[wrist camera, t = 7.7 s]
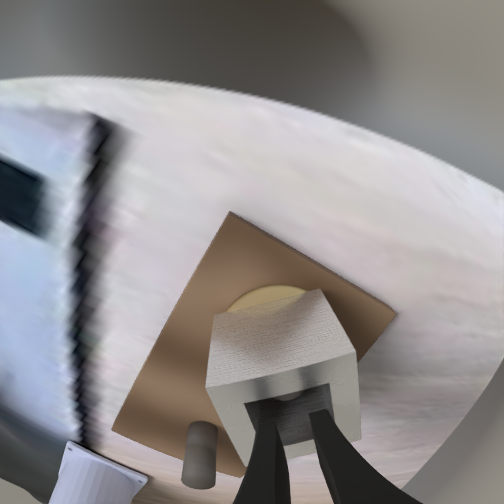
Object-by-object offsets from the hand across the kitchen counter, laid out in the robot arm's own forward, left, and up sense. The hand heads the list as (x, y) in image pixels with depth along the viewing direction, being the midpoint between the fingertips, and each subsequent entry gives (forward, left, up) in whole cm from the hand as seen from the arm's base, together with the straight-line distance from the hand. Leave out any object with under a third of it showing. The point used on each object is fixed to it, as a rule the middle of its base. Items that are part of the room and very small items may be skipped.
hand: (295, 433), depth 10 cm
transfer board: (-5, 0, -8) cm, 9 cm away
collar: (0, 0, -6) cm, 6 cm away
